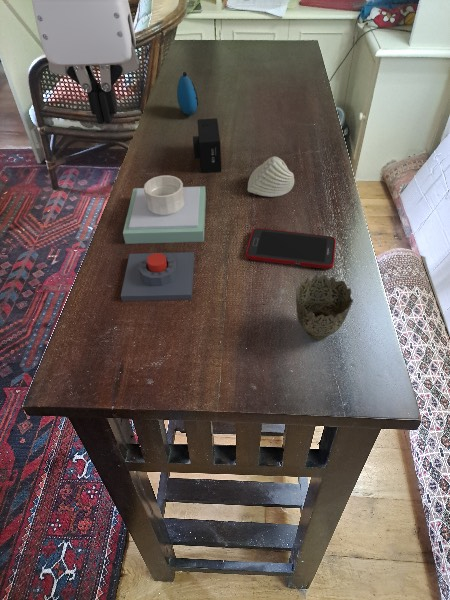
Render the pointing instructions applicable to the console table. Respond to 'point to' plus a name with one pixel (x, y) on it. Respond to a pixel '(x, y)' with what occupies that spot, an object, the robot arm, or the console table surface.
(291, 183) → the seashell
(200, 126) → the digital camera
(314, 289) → the cup
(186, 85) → the ornament
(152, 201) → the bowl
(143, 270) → the pad
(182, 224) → the scale
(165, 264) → the button
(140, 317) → the console table surface
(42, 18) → the robot arm
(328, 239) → the cell phone
